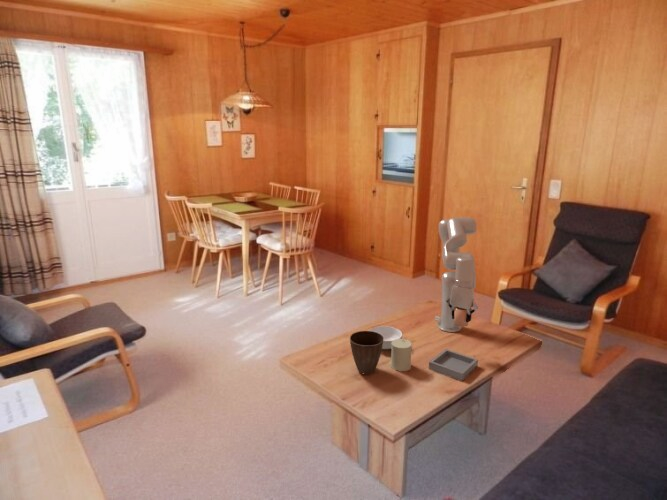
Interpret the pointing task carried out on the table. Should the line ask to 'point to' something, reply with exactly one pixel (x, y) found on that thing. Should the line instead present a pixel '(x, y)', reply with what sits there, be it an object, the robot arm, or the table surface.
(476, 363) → the grey tray
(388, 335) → the cereal bowl
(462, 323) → the terracotta cup
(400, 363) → the pillar candle
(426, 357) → the table surface
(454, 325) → the robot arm
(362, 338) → the plant pot
